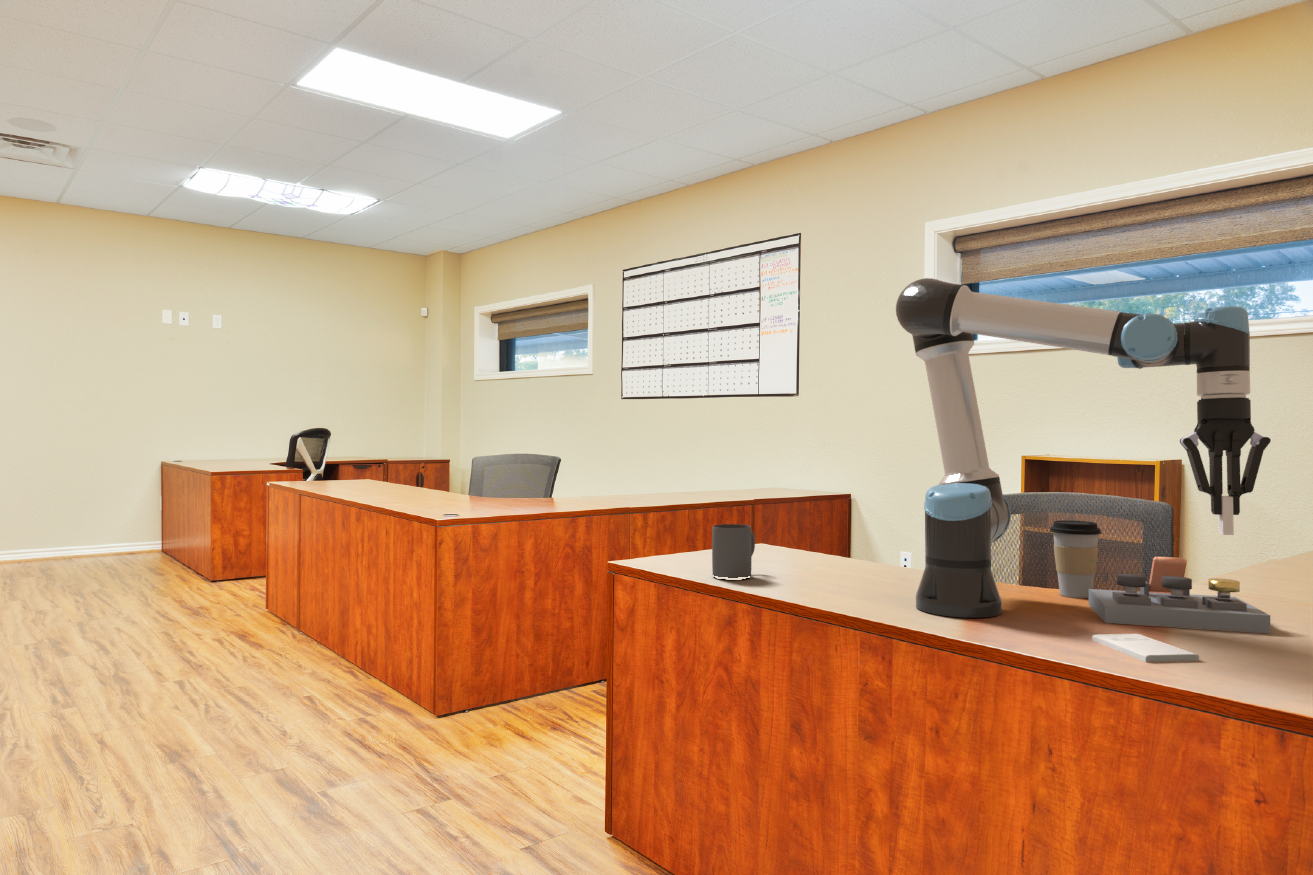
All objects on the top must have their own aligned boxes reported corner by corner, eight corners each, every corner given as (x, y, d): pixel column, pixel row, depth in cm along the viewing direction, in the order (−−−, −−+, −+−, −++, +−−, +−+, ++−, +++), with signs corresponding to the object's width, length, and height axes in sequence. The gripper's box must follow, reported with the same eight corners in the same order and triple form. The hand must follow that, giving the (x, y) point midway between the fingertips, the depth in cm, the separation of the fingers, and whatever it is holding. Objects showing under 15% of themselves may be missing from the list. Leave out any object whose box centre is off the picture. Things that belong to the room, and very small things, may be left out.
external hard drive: (1145, 666, 114) (1091, 643, 126) (1199, 665, 114) (1140, 642, 127) (1145, 655, 114) (1091, 633, 126) (1199, 653, 114) (1140, 632, 127)
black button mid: (1165, 596, 137) (1165, 579, 137) (1159, 591, 141) (1158, 575, 141) (1195, 597, 136) (1195, 581, 136) (1187, 593, 140) (1187, 576, 140)
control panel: (1105, 622, 138) (1105, 591, 138) (1088, 604, 153) (1088, 576, 153) (1270, 633, 130) (1270, 600, 130) (1235, 613, 145) (1235, 583, 145)
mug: (736, 582, 177) (736, 529, 177) (704, 577, 183) (704, 526, 183) (769, 574, 187) (769, 524, 187) (738, 570, 194) (738, 521, 194)
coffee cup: (1108, 600, 156) (1108, 525, 156) (1057, 599, 158) (1056, 524, 158) (1092, 591, 165) (1092, 520, 165) (1043, 590, 167) (1043, 519, 167)
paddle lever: (1148, 591, 146) (1154, 559, 143) (1147, 587, 147) (1152, 555, 143) (1181, 593, 145) (1188, 560, 141) (1179, 589, 146) (1186, 556, 142)
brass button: (1213, 598, 135) (1213, 581, 135) (1204, 594, 139) (1204, 577, 139) (1243, 600, 133) (1243, 583, 133) (1234, 595, 137) (1234, 579, 137)
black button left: (1119, 593, 139) (1119, 577, 139) (1114, 589, 144) (1114, 573, 144) (1148, 595, 138) (1148, 578, 138) (1142, 590, 142) (1142, 574, 142)
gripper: (1185, 397, 135) (1188, 535, 135) (1277, 395, 130) (1280, 537, 130) (1173, 399, 142) (1175, 530, 142) (1260, 397, 137) (1262, 532, 137)
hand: (1225, 533), depth 136 cm, fingers closed
